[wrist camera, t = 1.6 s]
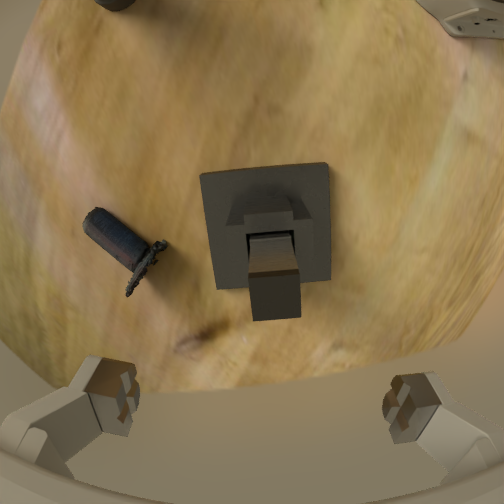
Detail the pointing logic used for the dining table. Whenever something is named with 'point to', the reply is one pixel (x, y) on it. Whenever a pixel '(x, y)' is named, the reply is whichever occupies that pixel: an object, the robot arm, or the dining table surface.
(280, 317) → the column
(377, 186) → the dining table surface
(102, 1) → the candle holder
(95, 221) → the dark flanged cylinder
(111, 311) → the dining table surface
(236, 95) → the dining table surface
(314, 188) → the stand
